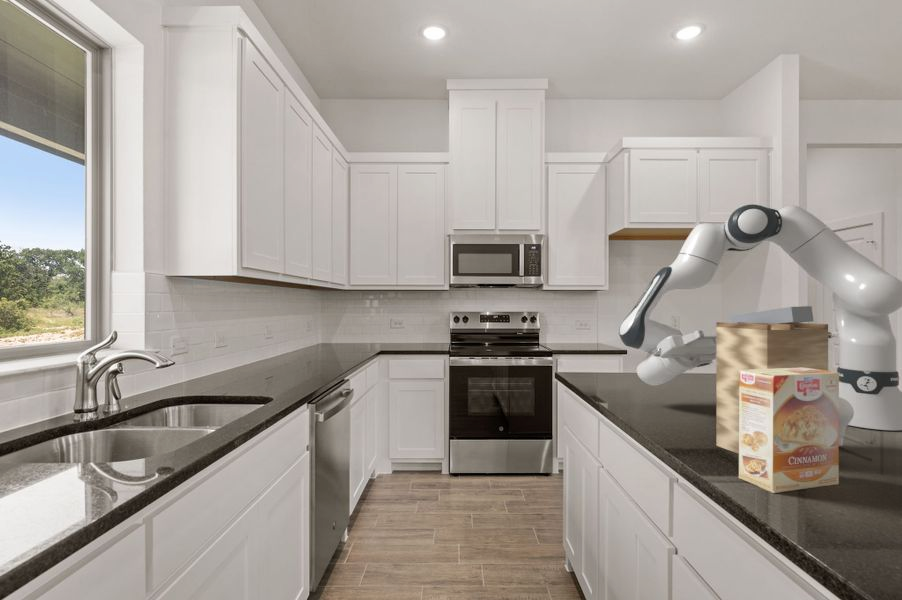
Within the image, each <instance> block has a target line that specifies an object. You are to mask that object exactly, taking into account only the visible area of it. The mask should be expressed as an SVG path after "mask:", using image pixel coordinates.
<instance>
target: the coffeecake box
mask: <svg viewBox="0 0 902 600" xmlns="http://www.w3.org/2000/svg"><path fill="white" fill-rule="evenodd" d="M839 447H840V446H839V373H838V372H837V371H832V370H828V371H827V370H820V369H811V368H804V367H800V368H776V369H749V370H739V454H738V479H740V480H741V481H745V482H747V483H750V484H751V485H754V486H756V487H758V488H760V489H762V490H764V491H768V492H769V493H772V494H777V493H784V492H793V491H799V490H806V489H813V488H820V487H826V486H835V485H836V486H837V485H839V484H840V481H839V479H840V478H839V477H840V476H839V474H840V473H839V472H840V471H839V469H840V468H839V467H840V465H839V464H840V463H839V462H840V461H839V460H840V459H839V456H840V455H839V454H840V451H839V450H840V449H839Z"/></svg>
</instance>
